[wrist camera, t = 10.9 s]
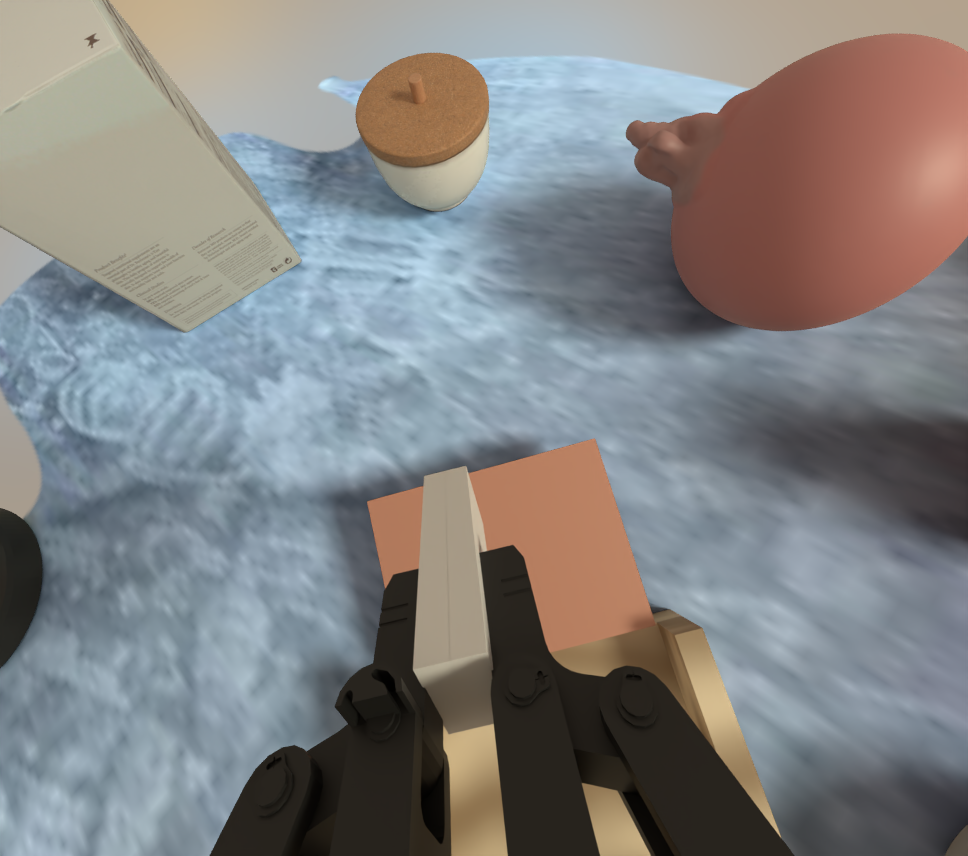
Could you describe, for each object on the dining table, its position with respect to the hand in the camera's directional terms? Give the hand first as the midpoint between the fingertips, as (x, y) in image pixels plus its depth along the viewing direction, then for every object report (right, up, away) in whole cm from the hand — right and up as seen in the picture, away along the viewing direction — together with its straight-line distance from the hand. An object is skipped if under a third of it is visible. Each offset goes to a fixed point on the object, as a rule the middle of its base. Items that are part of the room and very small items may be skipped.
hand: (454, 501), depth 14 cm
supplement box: (-25, +20, +25) cm, 41 cm away
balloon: (+20, +16, +19) cm, 32 cm away
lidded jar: (-3, +26, +24) cm, 36 cm away
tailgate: (+4, -12, +11) cm, 17 cm away
